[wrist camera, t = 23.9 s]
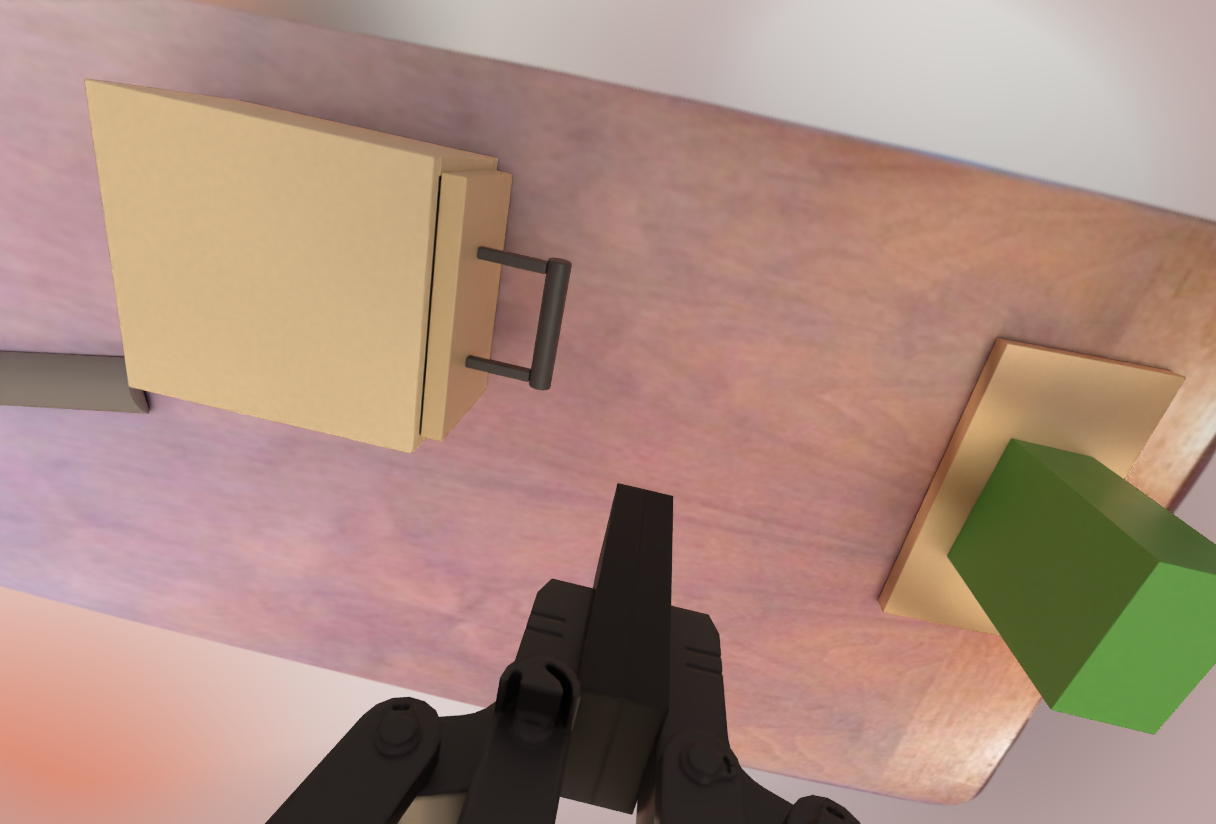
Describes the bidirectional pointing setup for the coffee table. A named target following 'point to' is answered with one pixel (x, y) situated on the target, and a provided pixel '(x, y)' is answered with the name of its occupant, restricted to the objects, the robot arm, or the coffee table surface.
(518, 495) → the coffee table surface
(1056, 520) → the tall green block
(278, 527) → the coffee table surface
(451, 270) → the drawer
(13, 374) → the half round rod
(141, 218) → the cabinet
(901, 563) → the board
